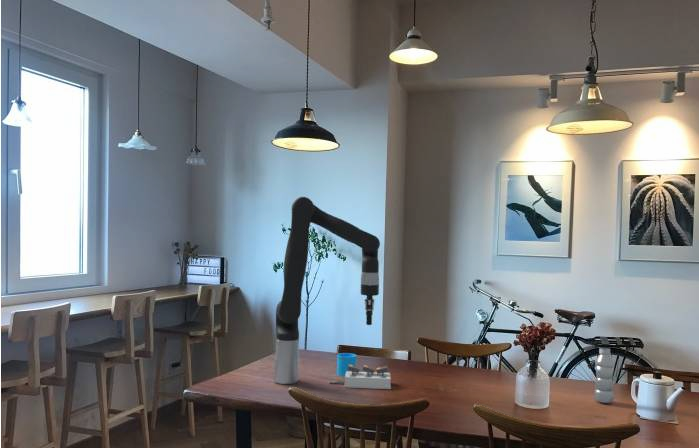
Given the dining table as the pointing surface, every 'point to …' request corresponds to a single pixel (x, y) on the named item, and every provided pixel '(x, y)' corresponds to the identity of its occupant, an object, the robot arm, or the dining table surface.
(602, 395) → the plastic bottle
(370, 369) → the rocker
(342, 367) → the mug
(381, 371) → the rocker
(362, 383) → the power strip
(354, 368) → the rocker
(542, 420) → the dining table surface
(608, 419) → the dining table surface
